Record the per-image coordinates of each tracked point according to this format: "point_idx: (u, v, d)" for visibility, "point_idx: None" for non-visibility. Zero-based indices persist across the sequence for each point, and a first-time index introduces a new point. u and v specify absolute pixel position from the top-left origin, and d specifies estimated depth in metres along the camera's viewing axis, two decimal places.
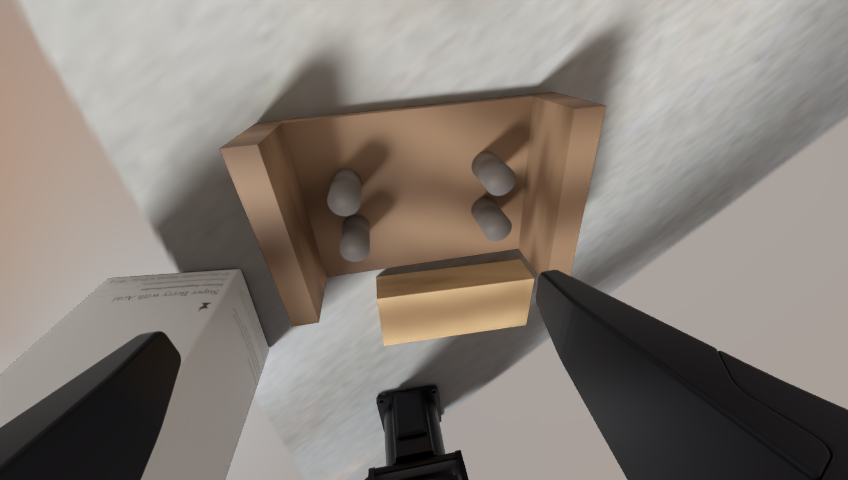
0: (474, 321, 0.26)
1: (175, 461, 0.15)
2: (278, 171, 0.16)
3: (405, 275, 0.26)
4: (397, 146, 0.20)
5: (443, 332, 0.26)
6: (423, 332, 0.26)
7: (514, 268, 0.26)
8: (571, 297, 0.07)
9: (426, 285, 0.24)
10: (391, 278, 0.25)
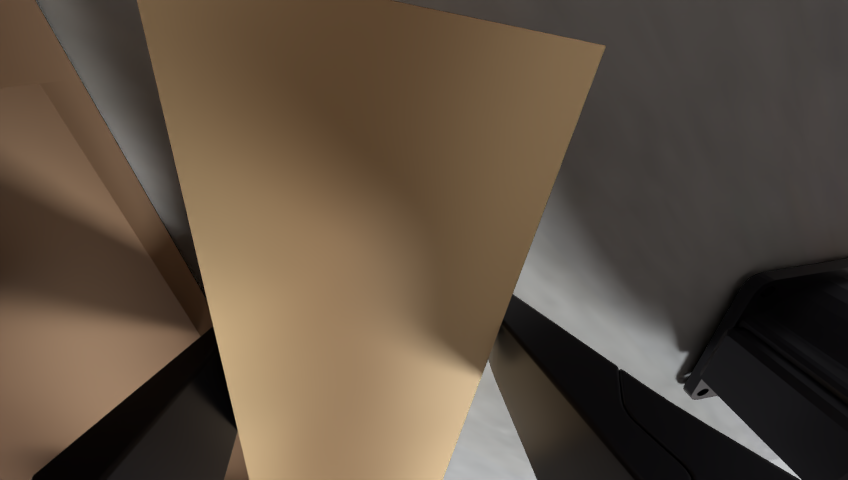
0: (440, 319, 0.06)
1: None
2: None
3: None
4: None
5: (449, 403, 0.07)
6: (422, 442, 0.08)
7: None
8: None
9: None
10: None
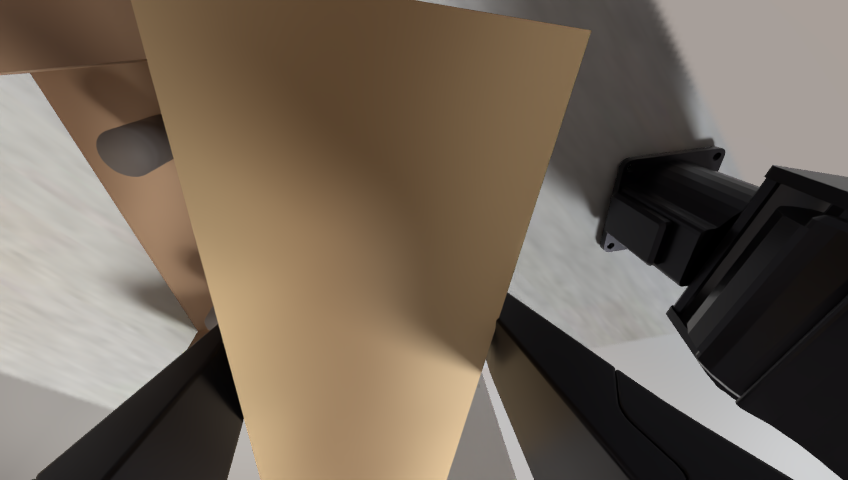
0: (439, 310, 0.06)
1: None
2: None
3: None
4: (184, 243, 0.17)
5: (452, 394, 0.07)
6: (427, 435, 0.08)
7: None
8: None
9: None
10: None
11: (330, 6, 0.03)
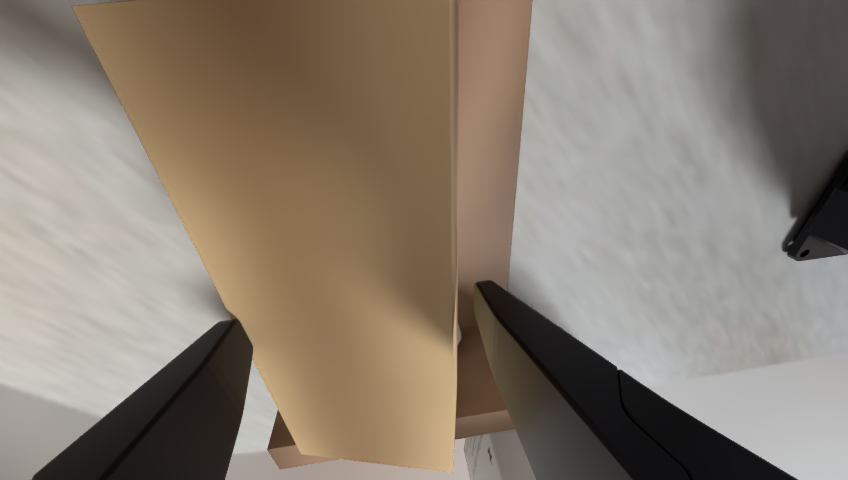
0: (386, 283, 0.06)
1: None
2: None
3: None
4: None
5: (428, 371, 0.07)
6: (417, 409, 0.08)
7: None
8: (494, 310, 0.07)
9: None
10: None
11: (205, 11, 0.04)
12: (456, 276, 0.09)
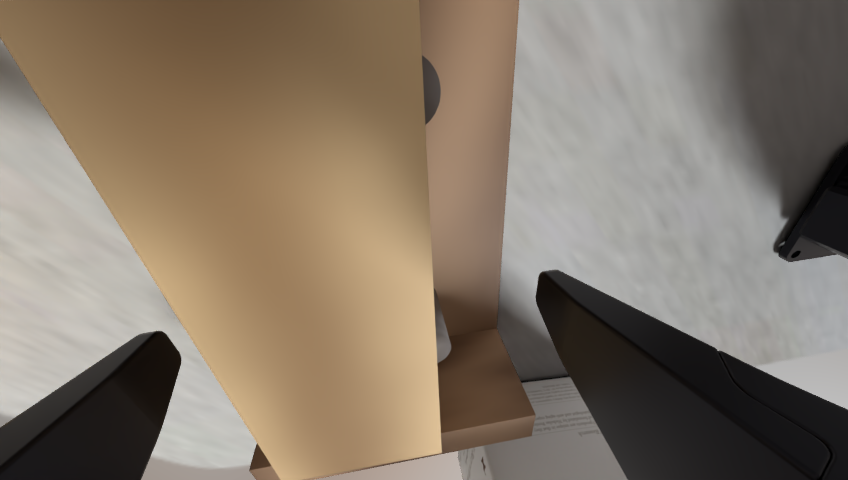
0: (370, 275, 0.06)
1: None
2: None
3: None
4: None
5: (414, 356, 0.08)
6: (404, 398, 0.09)
7: None
8: (571, 297, 0.07)
9: None
10: None
11: (165, 10, 0.04)
12: None
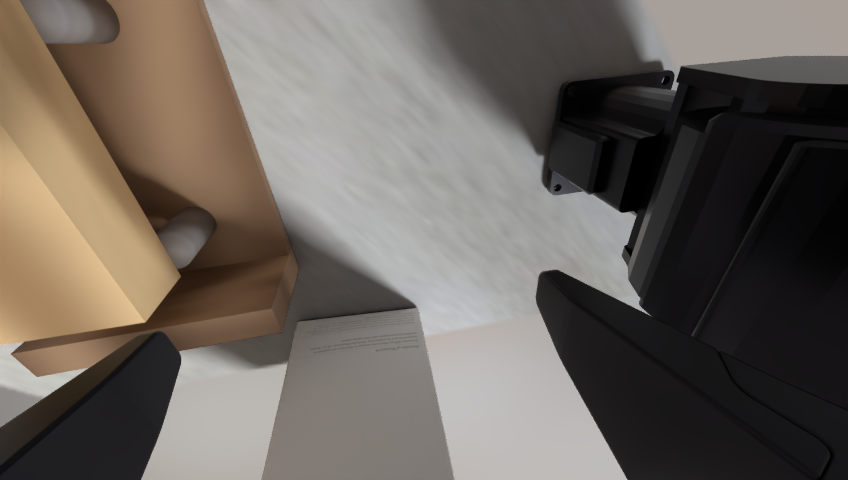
0: None
1: None
2: None
3: None
4: None
5: (46, 214, 0.10)
6: (65, 258, 0.11)
7: None
8: (571, 297, 0.07)
9: None
10: None
11: None
12: (92, 157, 0.11)
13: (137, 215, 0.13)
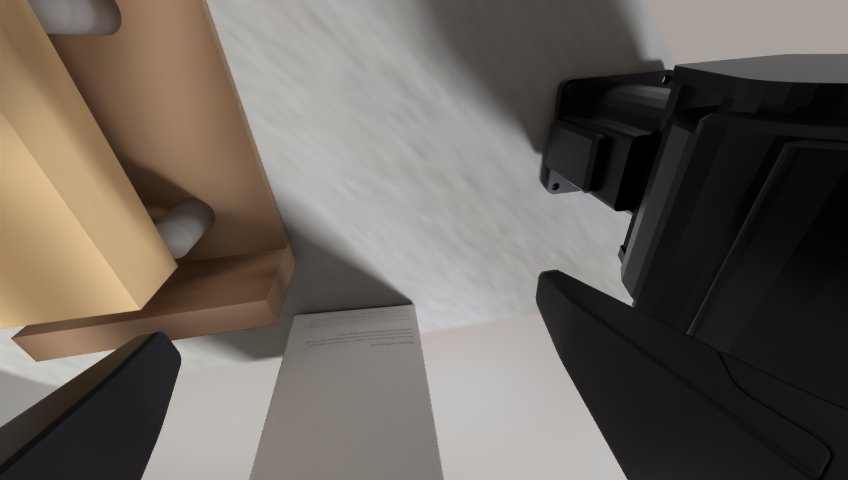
0: None
1: None
2: None
3: None
4: None
5: (43, 200, 0.10)
6: (63, 244, 0.11)
7: None
8: (571, 297, 0.07)
9: None
10: None
11: None
12: (91, 146, 0.12)
13: (135, 204, 0.13)
